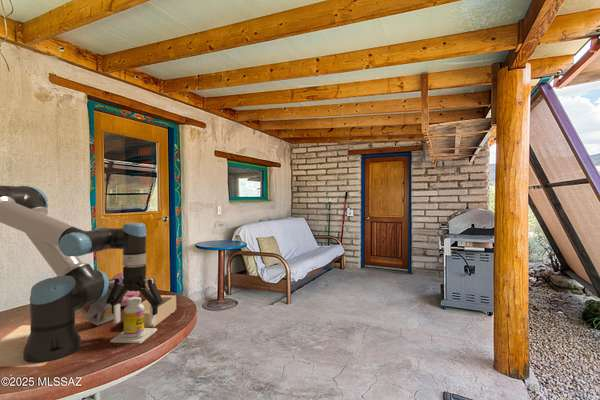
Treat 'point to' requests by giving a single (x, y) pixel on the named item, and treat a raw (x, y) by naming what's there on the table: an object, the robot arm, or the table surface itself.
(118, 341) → the plate
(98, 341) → the table surface
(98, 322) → the coffee box
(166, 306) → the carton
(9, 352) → the table surface
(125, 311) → the supplement bottle
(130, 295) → the decorative rock
